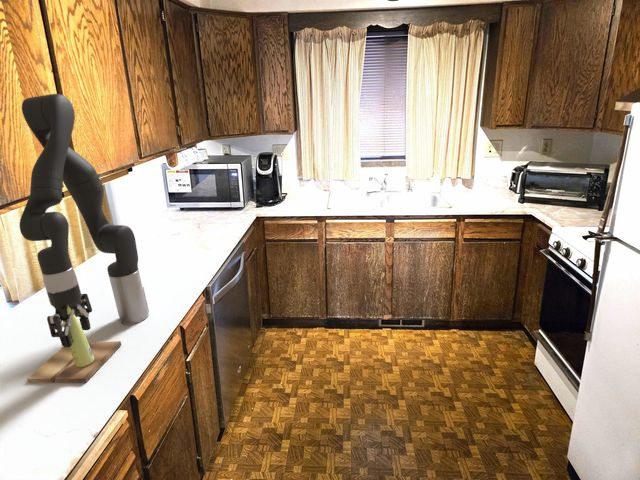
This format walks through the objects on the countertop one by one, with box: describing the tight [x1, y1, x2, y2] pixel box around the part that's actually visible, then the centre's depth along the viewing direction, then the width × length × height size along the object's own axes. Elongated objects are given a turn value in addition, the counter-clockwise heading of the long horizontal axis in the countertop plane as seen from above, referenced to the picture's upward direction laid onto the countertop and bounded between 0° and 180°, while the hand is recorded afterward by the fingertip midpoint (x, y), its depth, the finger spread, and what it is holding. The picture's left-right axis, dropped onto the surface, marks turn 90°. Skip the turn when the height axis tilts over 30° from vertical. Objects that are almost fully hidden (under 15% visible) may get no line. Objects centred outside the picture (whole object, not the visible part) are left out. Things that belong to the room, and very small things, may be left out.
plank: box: [54, 340, 122, 384], centre depth 128 cm, size 18×9×1 cm, turn 174°
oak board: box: [26, 341, 92, 384], centre depth 129 cm, size 18×8×1 cm, turn 174°
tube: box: [62, 305, 94, 367], centre depth 123 cm, size 6×5×20 cm
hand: (77, 337), depth 123 cm, fingers open, 8 cm apart
